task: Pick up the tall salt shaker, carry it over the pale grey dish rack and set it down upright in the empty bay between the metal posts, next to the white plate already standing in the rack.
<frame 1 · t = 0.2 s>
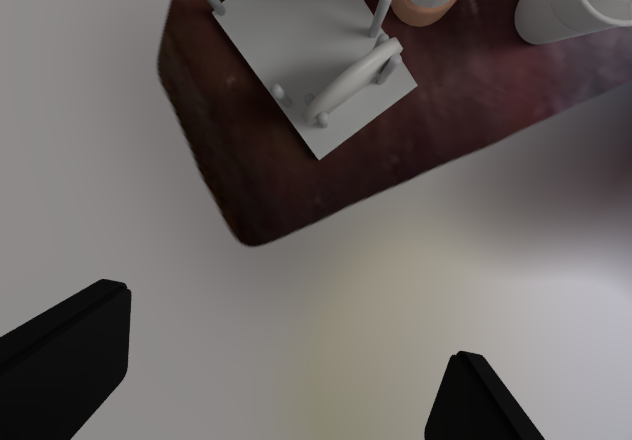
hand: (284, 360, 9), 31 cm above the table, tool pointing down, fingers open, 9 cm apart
dish rack: (316, 52, 35), on the table
cup: (539, 15, 33), on the table
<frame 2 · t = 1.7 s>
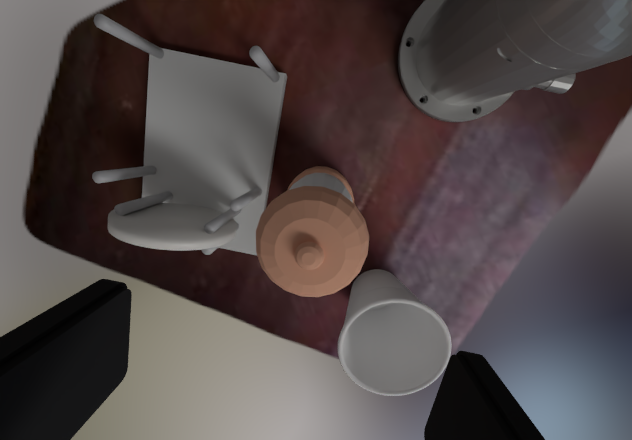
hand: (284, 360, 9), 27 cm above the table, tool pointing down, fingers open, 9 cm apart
salt shaker: (320, 197, 35), on the table
dish rack: (211, 158, 34), on the table
cup: (375, 290, 37), on the table
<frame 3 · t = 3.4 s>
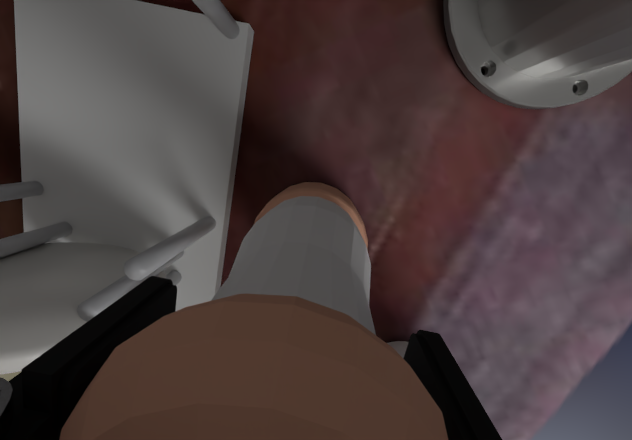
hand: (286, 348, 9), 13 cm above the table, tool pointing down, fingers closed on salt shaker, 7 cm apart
salt shaker: (311, 231, 22), on the table, touching gripper
dish rack: (135, 168, 21), on the table
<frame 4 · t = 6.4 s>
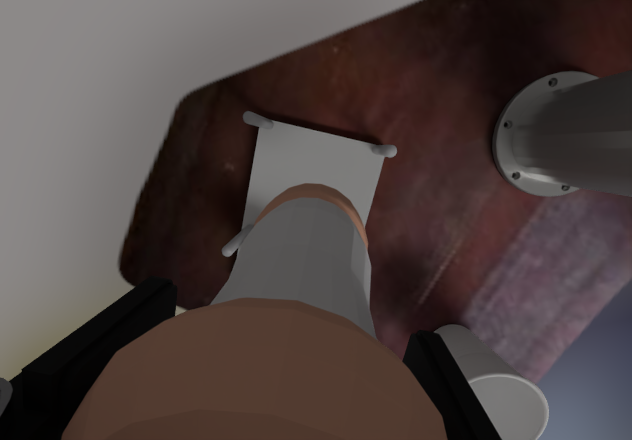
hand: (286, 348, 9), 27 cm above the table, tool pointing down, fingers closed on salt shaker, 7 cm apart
salt shaker: (311, 232, 22), point 14 cm above the table, touching gripper
dish rack: (305, 217, 36), on the table
cup: (449, 342, 39), on the table
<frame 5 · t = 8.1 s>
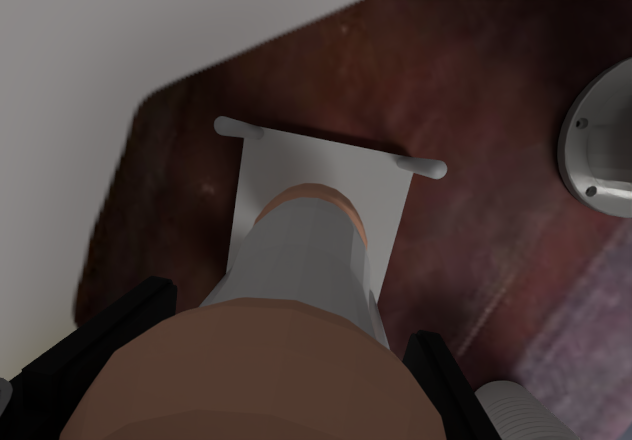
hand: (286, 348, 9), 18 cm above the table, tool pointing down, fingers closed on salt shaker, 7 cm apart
salt shaker: (311, 232, 22), point 5 cm above the table, touching gripper
dish rack: (309, 251, 28), on the table
cup: (496, 401, 31), on the table
when the fingers open (15 cm above the table, at t = 9.3 s): salt shaker drops 1 cm, resting on dish rack.
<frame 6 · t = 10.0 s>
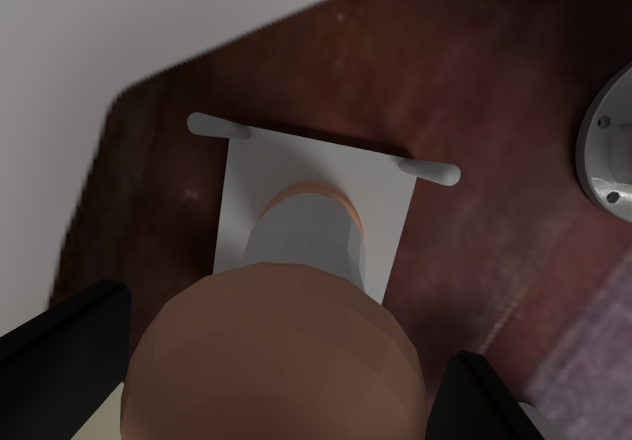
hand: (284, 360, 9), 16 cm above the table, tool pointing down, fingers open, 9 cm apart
salt shaker: (311, 226, 23), point 1 cm above the table, touching dish rack
dish rack: (302, 262, 25), on the table
cup: (506, 422, 28), on the table
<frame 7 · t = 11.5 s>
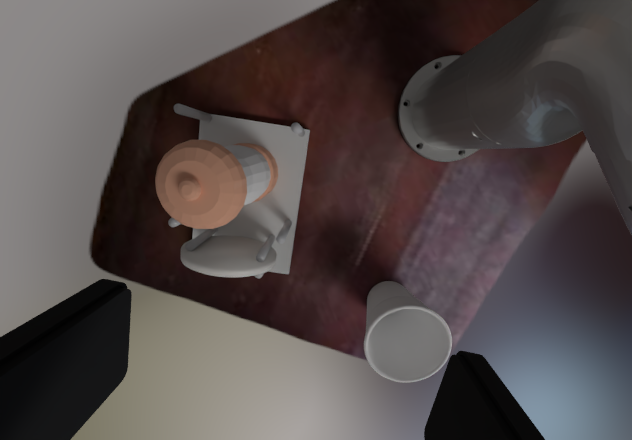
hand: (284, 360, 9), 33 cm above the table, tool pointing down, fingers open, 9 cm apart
salt shaker: (251, 171, 40), point 1 cm above the table, touching dish rack
dish rack: (249, 196, 41), on the table
cup: (387, 298, 45), on the table
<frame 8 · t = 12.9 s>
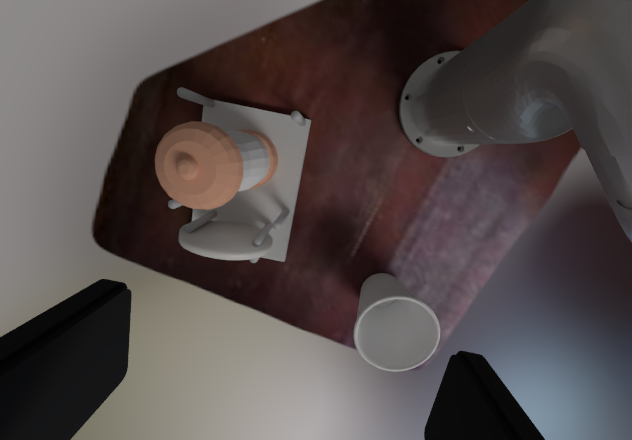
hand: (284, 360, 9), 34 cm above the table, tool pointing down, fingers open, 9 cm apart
salt shaker: (251, 159, 40), point 1 cm above the table, touching dish rack
dish rack: (248, 183, 42), on the table
cup: (380, 290, 45), on the table
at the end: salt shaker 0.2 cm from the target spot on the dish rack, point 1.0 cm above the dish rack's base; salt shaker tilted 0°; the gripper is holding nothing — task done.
